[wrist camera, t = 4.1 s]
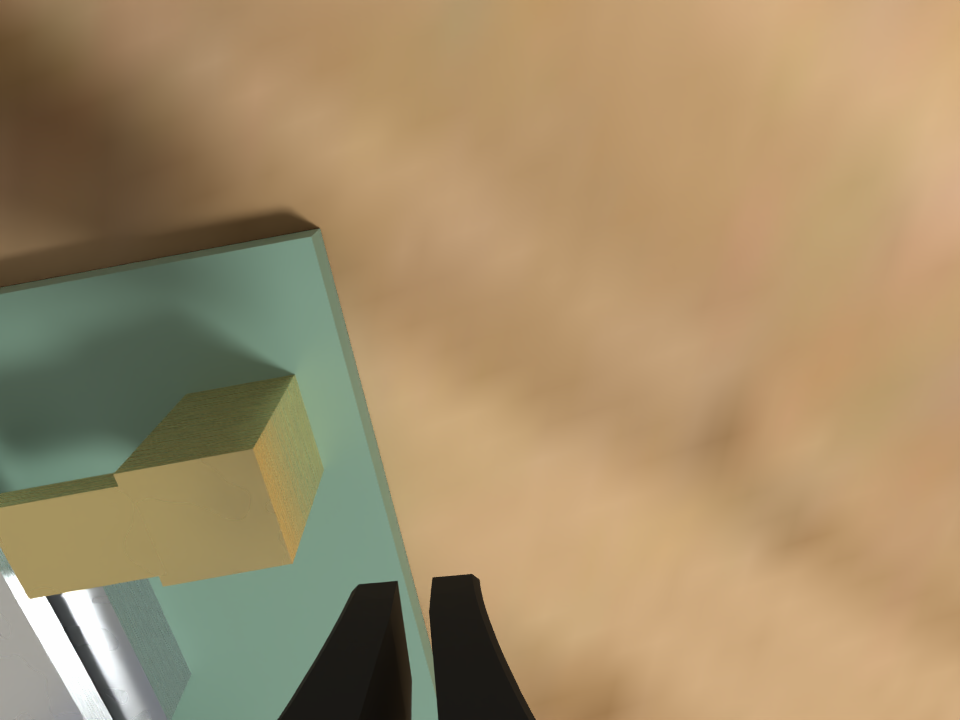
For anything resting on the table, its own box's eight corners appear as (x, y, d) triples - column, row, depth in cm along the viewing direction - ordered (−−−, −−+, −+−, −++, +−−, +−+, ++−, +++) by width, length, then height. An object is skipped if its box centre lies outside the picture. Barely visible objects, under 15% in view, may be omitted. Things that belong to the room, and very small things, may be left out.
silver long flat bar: (184, 842, 21) (172, 876, 20) (108, 854, 21) (93, 889, 20) (-22, 460, 16) (-52, 483, 15) (-123, 479, 16) (-159, 503, 15)
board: (458, 750, 24) (461, 901, 20) (47, 821, 25) (-46, 987, 20) (319, 228, 17) (273, 272, 12) (-262, 336, 17) (-522, 418, 13)
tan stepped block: (323, 469, 18) (292, 563, 15) (118, 506, 18) (34, 609, 15) (295, 374, 17) (252, 449, 13) (77, 414, 17) (-26, 499, 14)
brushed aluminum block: (191, 674, 21) (169, 723, 19) (40, 700, 21) (6, 752, 19) (122, 521, 19) (90, 562, 17) (-46, 551, 19) (-95, 595, 17)
